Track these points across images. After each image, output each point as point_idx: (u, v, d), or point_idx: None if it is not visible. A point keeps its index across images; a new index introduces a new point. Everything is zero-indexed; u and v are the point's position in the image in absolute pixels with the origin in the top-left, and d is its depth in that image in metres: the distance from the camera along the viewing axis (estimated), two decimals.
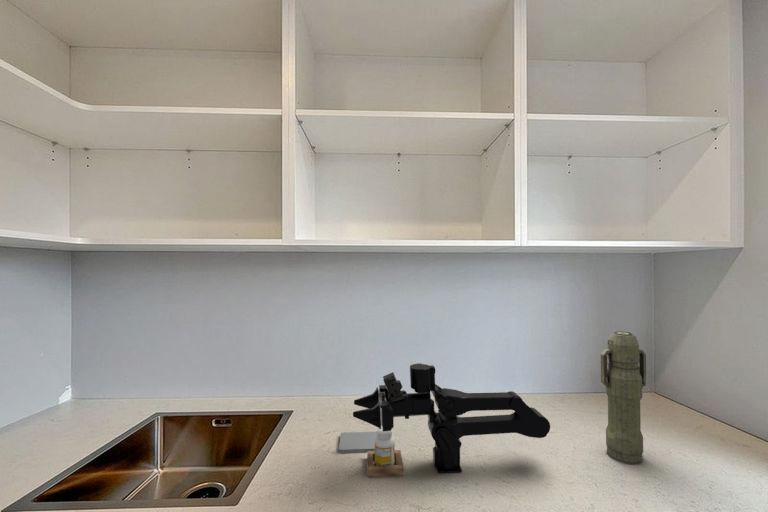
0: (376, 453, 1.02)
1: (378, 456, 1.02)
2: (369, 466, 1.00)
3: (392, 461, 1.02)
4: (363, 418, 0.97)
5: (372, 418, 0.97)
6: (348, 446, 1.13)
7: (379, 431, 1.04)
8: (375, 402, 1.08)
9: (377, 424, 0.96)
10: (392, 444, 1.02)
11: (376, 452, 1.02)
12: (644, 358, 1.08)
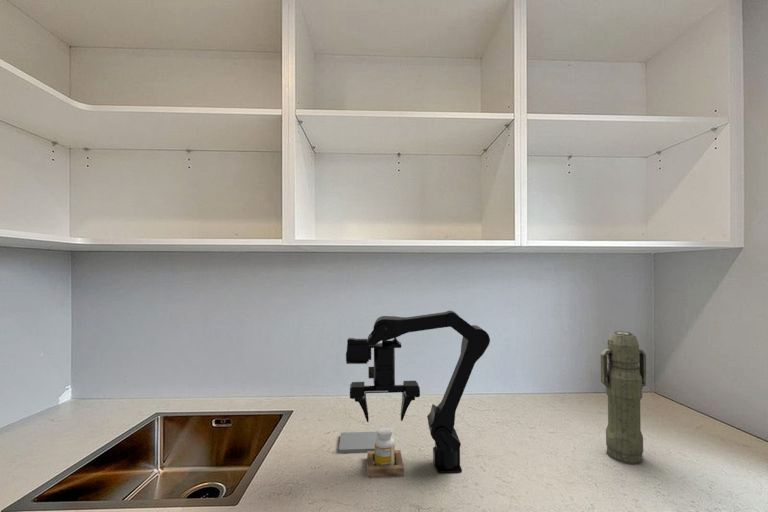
0: (376, 453, 1.02)
1: (378, 456, 1.02)
2: (369, 466, 1.00)
3: (392, 461, 1.02)
4: (364, 412, 1.03)
5: None
6: (348, 446, 1.13)
7: (379, 431, 1.04)
8: (403, 399, 1.04)
9: None
10: (392, 444, 1.02)
11: (376, 452, 1.02)
12: (644, 358, 1.08)
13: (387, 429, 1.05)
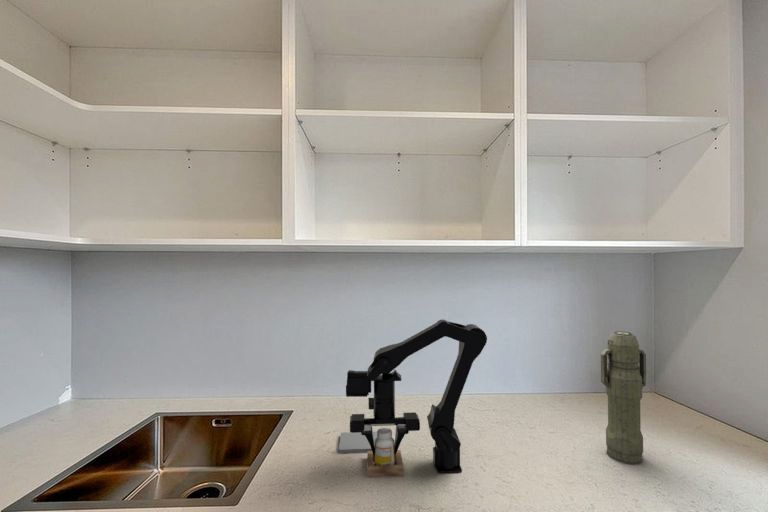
0: (376, 453, 1.02)
1: (378, 456, 1.02)
2: (369, 466, 1.00)
3: (392, 461, 1.02)
4: None
5: None
6: (348, 446, 1.13)
7: (379, 431, 1.04)
8: (396, 432, 1.04)
9: None
10: (392, 444, 1.02)
11: (376, 452, 1.02)
12: (644, 358, 1.08)
13: (387, 429, 1.05)
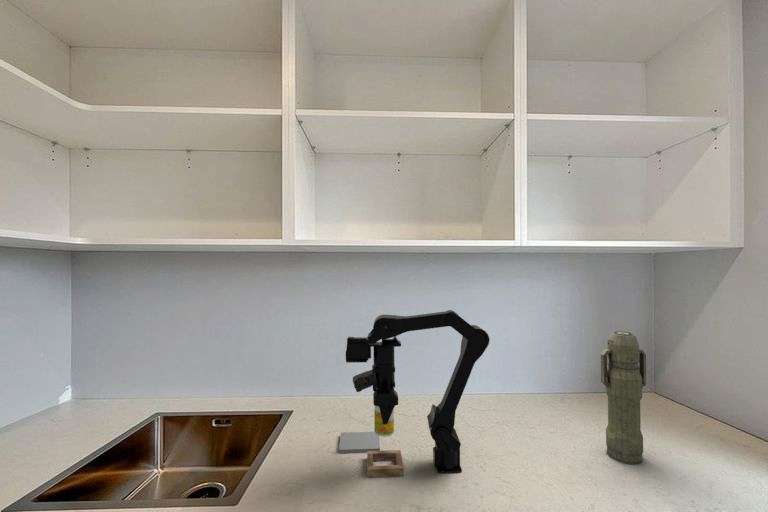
0: (389, 420, 1.02)
1: (392, 420, 1.02)
2: (369, 466, 1.00)
3: None
4: (388, 415, 1.00)
5: (388, 407, 1.00)
6: (348, 446, 1.13)
7: None
8: None
9: None
10: None
11: (389, 419, 1.02)
12: (644, 358, 1.08)
13: None
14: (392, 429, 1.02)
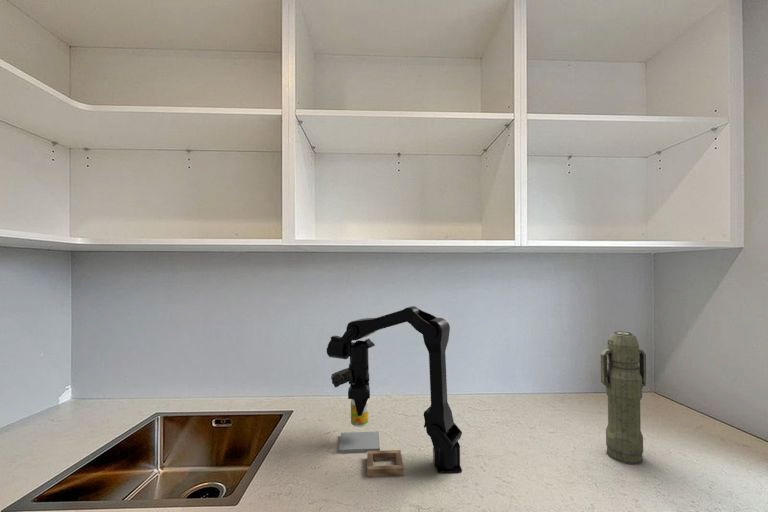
0: (363, 412, 1.15)
1: (366, 412, 1.15)
2: (369, 466, 1.00)
3: None
4: (362, 407, 1.13)
5: (362, 400, 1.13)
6: (348, 446, 1.13)
7: None
8: None
9: None
10: None
11: (363, 411, 1.15)
12: (644, 358, 1.08)
13: None
14: (366, 420, 1.15)
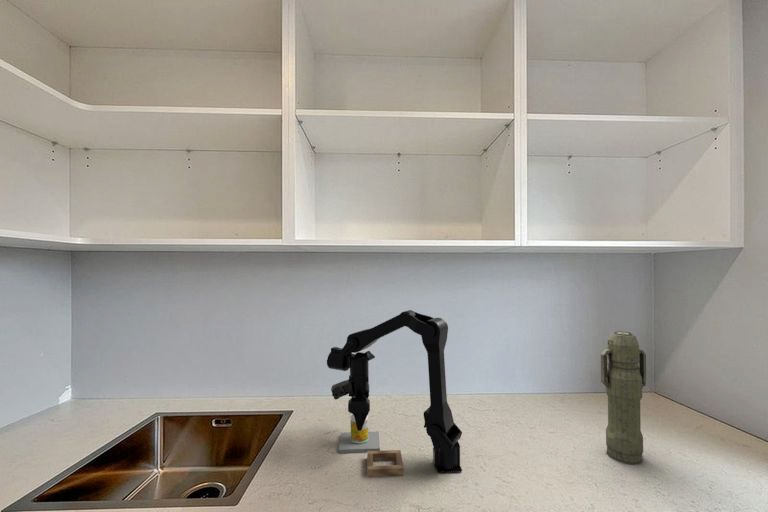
0: (363, 428, 1.15)
1: (366, 429, 1.16)
2: (369, 466, 1.00)
3: None
4: (362, 422, 1.12)
5: (362, 415, 1.11)
6: (348, 446, 1.13)
7: None
8: None
9: None
10: None
11: (363, 427, 1.15)
12: (644, 358, 1.08)
13: None
14: (366, 436, 1.16)
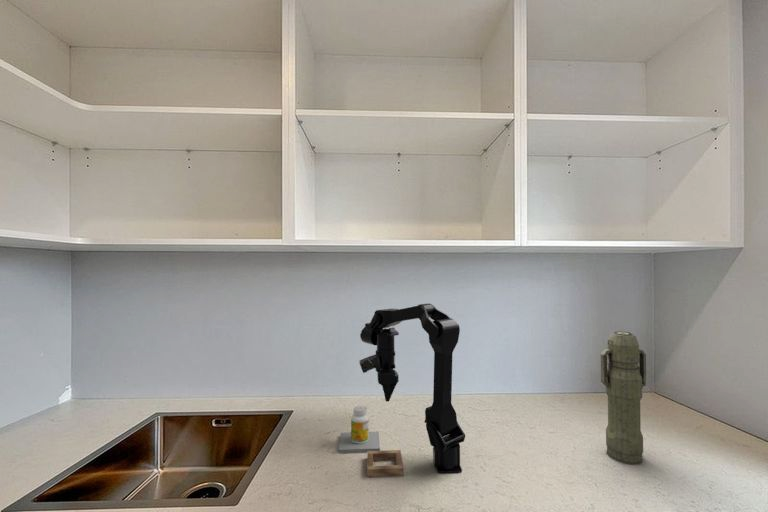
0: (364, 429, 1.15)
1: (366, 429, 1.15)
2: (369, 466, 1.00)
3: None
4: (390, 393, 1.19)
5: (390, 386, 1.18)
6: (348, 446, 1.13)
7: (360, 410, 1.16)
8: None
9: None
10: None
11: (364, 428, 1.15)
12: (644, 358, 1.08)
13: (357, 407, 1.18)
14: (366, 437, 1.15)
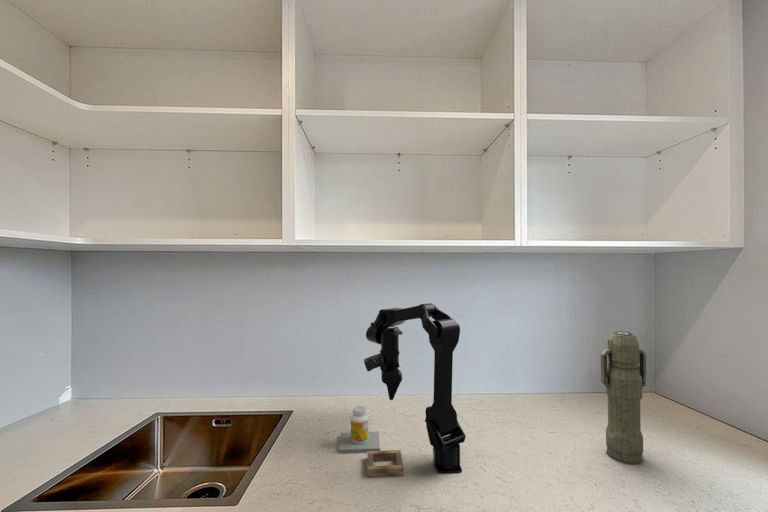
0: (363, 429, 1.15)
1: (366, 429, 1.15)
2: (369, 466, 1.00)
3: None
4: (394, 392, 1.20)
5: (394, 385, 1.19)
6: (348, 446, 1.13)
7: (359, 410, 1.16)
8: None
9: None
10: None
11: (363, 428, 1.15)
12: (644, 358, 1.08)
13: (356, 407, 1.18)
14: (366, 437, 1.15)
